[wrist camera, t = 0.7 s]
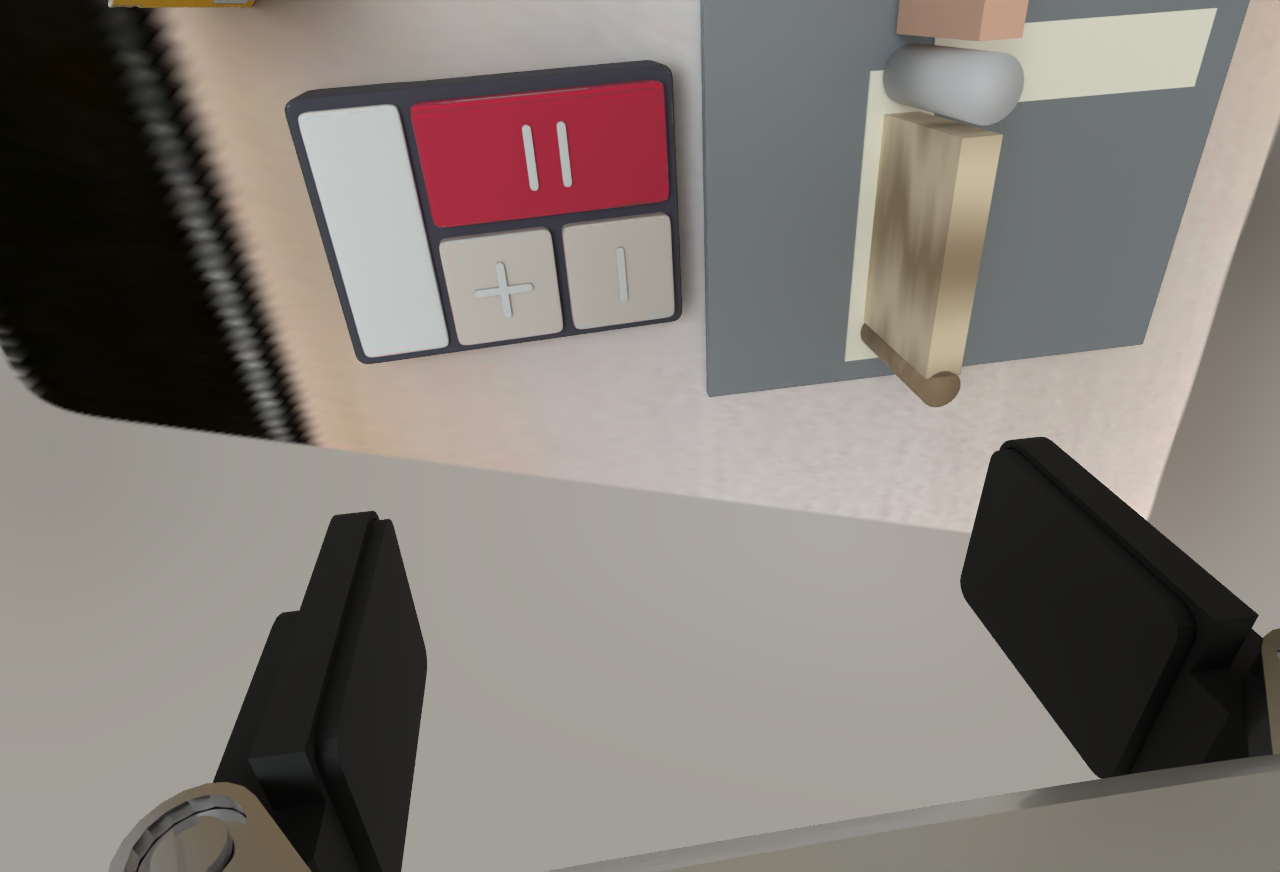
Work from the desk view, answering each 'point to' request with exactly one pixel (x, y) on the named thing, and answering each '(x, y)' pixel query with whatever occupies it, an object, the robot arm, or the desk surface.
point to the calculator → (495, 205)
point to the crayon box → (180, 3)
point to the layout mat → (1022, 195)
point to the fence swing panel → (958, 59)
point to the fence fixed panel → (927, 247)
